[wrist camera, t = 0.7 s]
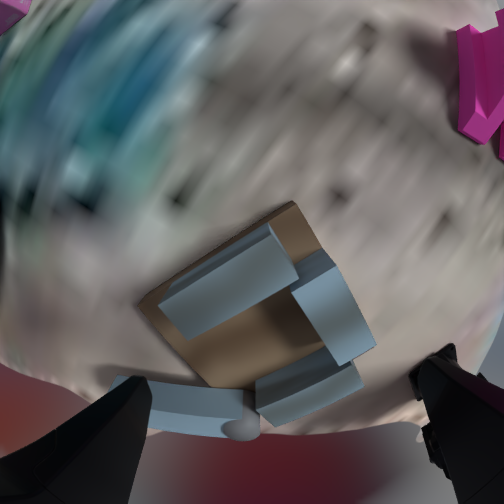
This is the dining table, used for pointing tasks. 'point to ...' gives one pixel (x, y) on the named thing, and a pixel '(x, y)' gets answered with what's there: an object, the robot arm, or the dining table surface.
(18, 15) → the gum box
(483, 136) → the magenta blocky figure
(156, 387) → the folding leg
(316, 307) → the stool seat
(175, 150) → the dining table surface
